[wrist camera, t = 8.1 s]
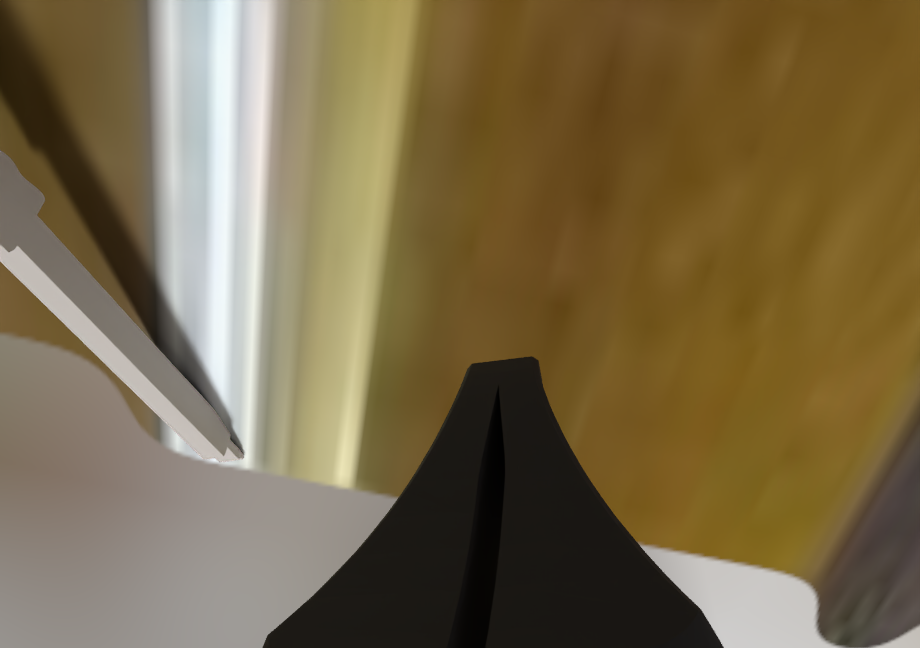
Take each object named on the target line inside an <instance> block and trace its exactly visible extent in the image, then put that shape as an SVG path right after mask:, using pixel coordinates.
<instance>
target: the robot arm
mask: <svg viewBox="0 0 920 648" xmlns="http://www.w3.org/2000/svg"><path fill="white" fill-rule="evenodd" d="M263 648H724V647H723V646H722V644H721V642H720V640H719V639H718V637H717V635H716V634H715V632H714V630H713V629H712V627H711V625H710V624H709V622H708V620H707V619H706V617H705V616H704V614H703V612H702V611H701V609H700V608H699V607H698V606H697V605H696V604H694V602H692V600H691V599H689V598H688V597H687V596H686V595H685V594H684V593H683V592H682V591H681V590H680V589H679V588H678V587H677V586H676V585H675V584H674V583H673V582H672V581H671V580H670V579H669V578H668V577H667V576H666V574H664V572H662V570H661V569H660V568H659V567H658V566H657V565H656V564H655V562H654V561H653V560H652V559H651V558H650V557H649V556H648V555H647V554H646V553H645V551H644V550H643V549H642V548H641V547H640V545H639V544H638V543H637V542H636V541H635V539H634V538H633V537H632V536H631V535H630V533H629V532H628V531H627V530H626V528H625V527H624V526H623V525H622V524H621V522H620V521H619V520H618V519H617V517H616V516H615V515H614V513H613V512H612V511H611V509H610V508H609V507H608V505H607V504H606V503H605V501H604V500H603V498H602V497H601V496H600V494H599V493H598V491H597V490H596V488H595V487H594V485H593V484H592V482H591V481H590V479H589V478H588V476H587V475H586V473H585V471H584V470H583V468H582V467H581V465H580V463H579V462H578V460H577V458H576V456H575V455H574V453H573V451H572V449H571V448H570V446H569V444H568V442H567V440H566V438H565V437H564V435H563V433H562V431H561V428H560V426H559V424H558V422H557V420H556V418H555V416H554V414H553V412H552V409H551V407H550V404H549V402H548V399H547V396H546V394H545V391H544V388H543V384H542V378H541V373H540V367H539V361H538V360H537V359H535V358H534V357H524V358H515V359H507V360H499V361H491V362H483V363H474V364H471V365H470V367H469V368H468V369H467V372H466V374H465V377H464V380H463V382H462V384H461V387H460V389H459V392H458V394H457V396H456V398H455V401H454V403H453V405H452V407H451V409H450V411H449V413H448V415H447V417H446V419H445V421H444V423H443V425H442V427H441V429H440V431H439V433H438V435H437V437H436V439H435V440H434V442H433V444H432V446H431V447H430V449H429V451H428V453H427V454H426V456H425V458H424V459H423V461H422V463H421V464H420V466H419V468H418V469H417V471H416V473H415V474H414V476H413V477H412V479H411V480H410V482H409V483H408V485H407V486H406V488H405V489H404V491H403V492H402V494H401V495H400V497H399V498H398V499H397V501H396V502H395V504H394V505H393V506H392V508H391V509H390V510H389V512H388V513H387V514H386V516H385V517H384V518H383V519H382V521H381V522H380V523H379V524H378V526H377V527H376V528H375V529H374V531H373V532H372V533H371V534H370V536H369V537H368V538H367V539H366V540H365V542H364V543H363V544H362V545H361V546H360V547H359V549H358V550H357V551H356V552H355V553H354V554H353V555H352V556H351V557H350V558H349V559H348V561H347V562H346V563H345V564H344V565H343V566H342V567H341V568H340V569H339V570H338V571H337V572H336V573H335V574H334V575H333V576H332V577H331V578H330V579H329V580H328V581H327V582H326V583H325V584H324V585H323V586H322V587H321V588H320V589H319V590H318V591H317V592H316V593H315V594H314V595H313V596H312V597H311V598H310V599H309V600H308V601H307V602H305V603H304V604H303V605H302V606H301V607H300V608H299V609H297V610H296V611H295V612H294V613H293V614H292V615H291V616H290V617H288V618H287V619H286V620H285V621H284V622H283V623H282V624H281V625H279V626H278V627H277V628H276V629H274V631H272V632H271V633H270V634H268V636H267V638H266V640H265V643H264V646H263Z"/></svg>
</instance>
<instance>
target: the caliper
mask: <svg viewBox="0 0 920 648" xmlns="http://www.w3.org/2000/svg"><path fill="white" fill-rule="evenodd" d="M44 202H45V197H44V196H43V194H42V193H41V192H40V190H39V189H37V188H36V187H35V186H34V185H32V184H31V183H30V182H28V181H27V180H26V179H25V178H24V177H23V176H22V175H21V174H20V172H19V171H18V169H17V167H16V165H15V164H14V162H13V161H12V160H11V158H10V157H9V156H8V155H6V154H5V153H4V152H2V151H1V150H0V262H2V263H3V264H4V265H5V266H6V267H7V268H8V269H9V270H10V271H11V272H12V273H13V274H14V275H15V276H16V277H17V278H18V279H19V280H20V281H21V282H22V283H23V284H24V285H25V286H26V287H27V288H28V289H29V290H30V291H31V292H32V293H33V294H34V295H35V296H36V297H37V298H38V299H39V300H40V301H41V302H42V303H43V304H44V305H45V306H47V307H48V308H49V309H50V310H51V311H52V312H53V313H54V314H55V315H56V316H57V317H58V318H59V319H60V320H61V321H62V322H63V323H64V324H65V325H66V326H67V327H68V328H69V329H70V330H71V331H72V332H73V333H74V334H75V335H76V336H77V337H78V338H79V339H80V340H81V341H82V342H83V343H84V344H85V345H86V346H87V347H88V348H89V349H90V350H92V351H93V352H94V353H95V354H96V355H97V356H98V357H99V358H100V359H101V360H102V361H103V362H104V363H105V364H106V365H107V366H108V367H109V368H110V369H111V370H112V371H113V372H114V373H115V374H116V375H117V376H118V377H119V378H120V379H121V380H122V381H123V382H124V383H125V384H126V385H127V386H128V387H129V388H130V389H131V390H132V391H133V392H134V393H135V394H137V395H138V396H139V397H140V398H141V399H142V400H143V401H144V402H145V403H146V404H147V405H148V406H149V407H150V408H151V409H152V410H153V411H154V412H155V413H156V414H157V415H158V416H159V417H160V418H161V419H162V420H163V421H164V422H165V423H166V424H167V425H168V426H170V427H171V428H172V429H173V430H174V431H175V432H176V433H177V434H178V435H179V436H180V437H181V438H182V439H183V440H184V441H185V442H186V443H187V444H188V445H189V446H190V447H191V448H192V449H193V450H194V451H195V452H196V453H197V454H198V455H199V456H201V457H202V458H203V459H204V460H205V459H211V458H216V459H217V460H218V461H219V462H227V461H234V460H240V459H243V458H244V455H243V453H242V452H241V450H240V449H239V448H238V447H237V446H236V445H235V444H234V443H233V442H232V441H231V440H230V436H231V434H230V433H229V431H228V429H227V428H226V426H225V425H224V423H223V422H222V420H221V419H220V417H219V416H218V414H217V413H216V411H215V410H214V409H213V407H212V406H211V405H210V404H209V403H208V402H207V401H206V400H205V399H204V398H203V397H202V396H201V394H200V393H199V392H198V391H197V390H196V389H195V388H194V387H193V386H192V385H191V384H190V383H189V381H188V380H187V379H186V378H185V377H184V376H183V375H182V374H181V373H180V372H179V371H178V370H177V368H176V367H175V366H174V365H173V364H172V363H171V362H170V361H169V360H168V359H167V358H166V357H165V355H164V354H163V353H162V352H161V351H160V350H159V349H158V348H157V347H156V346H155V345H154V344H153V342H152V341H151V340H150V339H149V338H148V337H147V336H146V335H145V334H144V333H143V332H142V330H141V329H140V328H139V327H138V326H137V325H136V324H135V323H134V322H133V321H132V319H131V318H130V317H129V316H128V315H127V314H126V313H125V312H124V311H123V310H122V308H121V307H120V306H119V305H118V304H117V303H116V302H115V301H114V300H113V299H112V297H111V296H110V295H109V294H108V293H107V292H106V291H105V290H104V289H103V287H102V286H101V285H100V284H99V283H98V282H97V281H96V280H95V279H94V278H93V276H92V275H91V274H90V273H89V272H88V271H87V270H86V269H85V268H84V267H83V265H82V264H81V263H80V262H79V261H78V260H77V259H76V258H75V257H74V256H73V254H72V253H71V252H70V251H69V250H68V249H67V248H66V247H65V246H64V245H63V243H62V242H61V241H60V240H59V239H58V238H57V237H56V236H55V235H54V233H53V232H52V231H51V230H50V229H49V228H48V227H47V226H46V225H45V224H44V222H43V221H42V220H41V219H40V218H39V217H38V216H37V214H38V212H39V210H40V209H41V207H42V205H43V203H44Z"/></svg>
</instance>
